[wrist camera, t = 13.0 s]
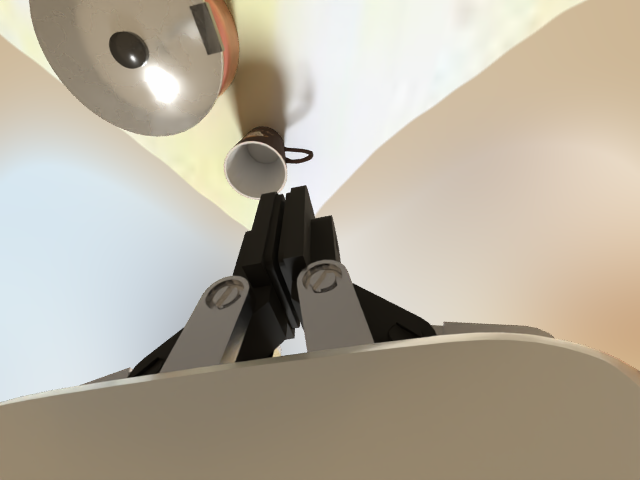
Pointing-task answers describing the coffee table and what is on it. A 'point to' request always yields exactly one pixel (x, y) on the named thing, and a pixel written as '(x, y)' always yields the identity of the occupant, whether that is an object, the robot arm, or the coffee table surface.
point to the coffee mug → (259, 163)
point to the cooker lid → (135, 59)
